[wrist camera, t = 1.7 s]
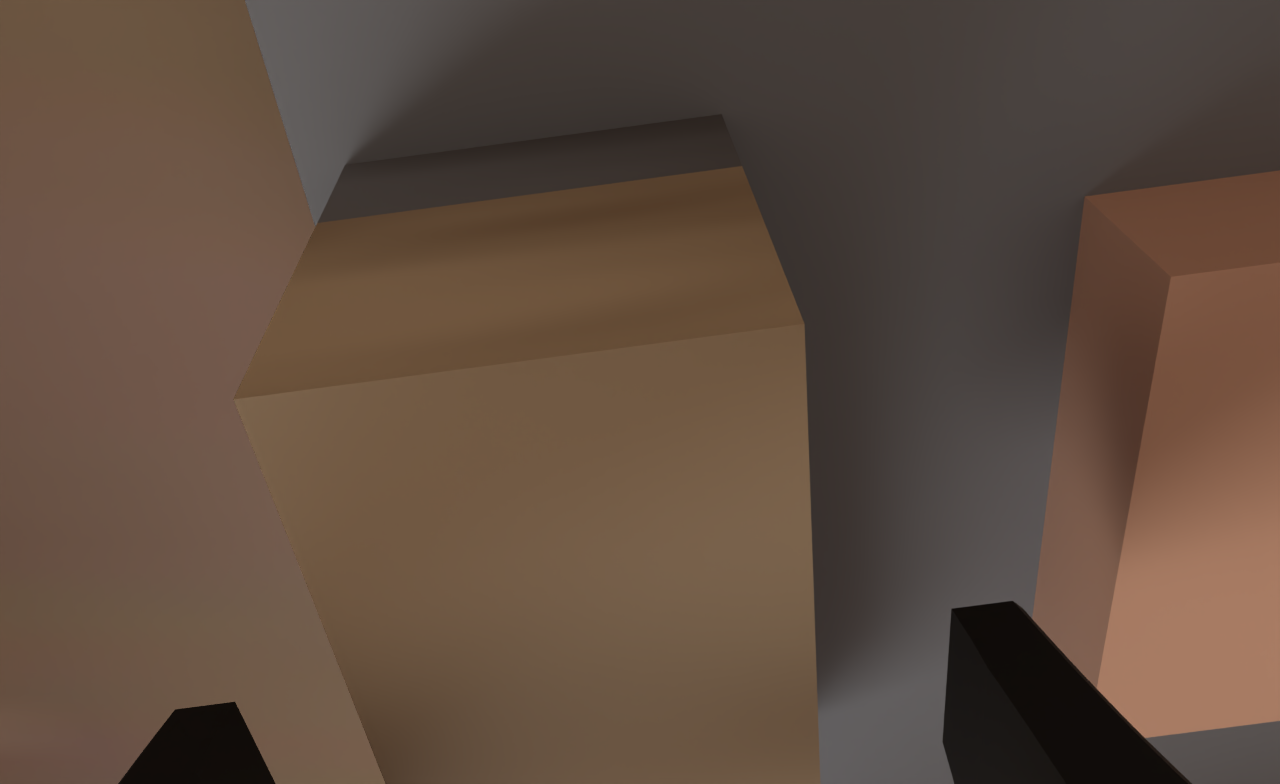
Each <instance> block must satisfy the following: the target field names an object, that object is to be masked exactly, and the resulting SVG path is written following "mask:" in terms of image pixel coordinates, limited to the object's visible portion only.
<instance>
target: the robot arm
mask: <svg viewBox="0 0 1280 784" xmlns="http://www.w3.org/2000/svg"><path fill="white" fill-rule="evenodd" d="M942 742H943V746H944V749H945V753H946V756H947V760H948V763H949V767H950V770H951V774H952V777H953V781H954V784H1192V783H1191V782H1190V781H1189V780H1188V779H1187V778H1186V777H1185V776H1184V775H1183V774H1181V773H1180V772H1179V771H1178V770H1177V769H1176V768H1175V767H1174V766H1173V765H1172V764H1171V763H1170V762H1169V761H1168V760H1167V759H1166V758H1165V757H1164V756H1163V755H1162V754H1161V753H1160V752H1159V751H1158V750H1157V749H1156V748H1155V747H1154V746H1153V745H1152V744H1151V743H1150V742H1148V741H1147V740H1146V739H1145V738H1144V737H1143V736H1142V735H1141V734H1140V733H1139V732H1138V731H1137V730H1136V729H1135V728H1134V727H1133V726H1132V725H1131V724H1130V723H1129V722H1128V721H1127V719H1126V718H1125V717H1124V716H1123V715H1122V714H1121V713H1120V712H1119V711H1118V710H1117V709H1116V708H1115V707H1114V706H1113V705H1112V704H1111V703H1110V702H1109V701H1108V700H1107V699H1106V698H1105V697H1104V696H1103V695H1102V694H1101V693H1100V692H1099V691H1098V689H1097V688H1096V687H1095V686H1094V685H1093V684H1092V683H1091V682H1090V681H1089V680H1088V679H1087V678H1086V677H1085V676H1084V675H1083V674H1082V673H1081V672H1080V671H1079V669H1078V668H1077V667H1076V666H1075V665H1074V664H1073V663H1072V662H1071V661H1070V660H1069V659H1068V658H1067V657H1066V655H1065V654H1064V653H1063V652H1062V651H1061V650H1060V649H1059V648H1058V647H1057V646H1056V645H1055V643H1054V642H1053V641H1052V640H1051V639H1050V638H1049V637H1048V636H1047V635H1046V634H1045V632H1044V631H1043V630H1042V629H1041V628H1040V627H1039V626H1038V625H1037V624H1036V622H1035V621H1034V620H1033V619H1032V618H1031V617H1030V616H1029V615H1028V614H1027V612H1026V611H1025V610H1024V609H1023V608H1022V607H1021V606H1019V605H1018V604H1017V603H1015V602H1014V601H1006V602H999V603H991V604H983V605H976V606H968V607H960V608H953V609H951V623H950V637H949V652H948V667H947V682H946V696H945V711H944V726H943V741H942ZM119 784H275V782H274V780H273V778H272V776H271V774H270V772H269V770H268V768H267V766H266V764H265V762H264V760H263V758H262V756H261V754H260V752H259V750H258V748H257V746H256V743H255V741H254V739H253V737H252V735H251V733H250V731H249V729H248V727H247V725H246V723H245V721H244V719H243V717H242V715H241V713H240V711H239V709H238V707H237V705H236V703H235V702H230V703H222V704H215V705H207V706H199V707H192V708H184V709H176V710H174V712H173V713H172V714H171V716H170V717H169V718H168V719H167V721H166V722H165V723H164V725H163V726H162V727H161V728H160V730H159V731H158V732H157V733H156V735H155V736H154V737H153V739H152V740H151V741H150V742H149V744H148V745H147V746H146V748H145V749H144V750H143V752H142V753H141V754H140V756H139V757H138V758H137V760H136V761H135V762H134V764H133V765H132V766H131V768H130V769H129V770H128V772H127V773H126V774H125V776H124V777H123V778H122V780H121V781H120V782H119Z"/></svg>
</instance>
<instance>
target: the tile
mask: <svg viewBox="0 0 1280 784" xmlns="http://www.w3.org/2000/svg"><path fill="white" fill-rule="evenodd" d="M1032 619H1033V620H1034V621H1035V622H1036V624H1037V625H1038V626H1039V627H1040V628H1041V629H1042V630H1043V631H1044V632H1045V634H1046V635H1047V636H1048V637H1049V638H1050V639H1051V640H1052V641H1053V642H1054V643H1055V645H1056V646H1057V647H1058V648H1059V649H1060V650H1061V651H1062V652H1063V653H1064V654H1065V655H1066V657H1067V658H1068V659H1069V660H1070V661H1071V662H1072V663H1073V664H1074V665H1075V666H1076V667H1077V668H1078V669H1079V671H1080V672H1081V673H1082V674H1083V675H1084V676H1085V677H1086V678H1087V679H1088V680H1089V681H1090V682H1091V683H1092V684H1093V685H1094V686H1095V687H1096V688H1097V689H1098V691H1099V692H1100V693H1101V694H1102V695H1103V696H1104V697H1105V698H1106V699H1107V700H1108V701H1109V702H1110V703H1111V704H1112V705H1113V706H1114V707H1115V708H1116V709H1117V710H1118V711H1119V712H1120V713H1121V714H1122V715H1123V716H1124V717H1125V718H1126V719H1127V721H1128V722H1129V723H1130V724H1131V725H1132V726H1133V727H1134V728H1135V729H1136V730H1137V731H1138V732H1139V733H1140V734H1141V735H1142V736H1143V737H1144V738H1149V737H1157V736H1165V735H1172V734H1180V733H1188V732H1196V731H1204V730H1212V729H1219V728H1227V727H1235V726H1243V725H1251V724H1259V723H1266V722H1274V721H1280V170H1279V171H1272V172H1264V173H1257V174H1249V175H1242V176H1234V177H1227V178H1219V179H1212V180H1204V181H1197V182H1189V183H1182V184H1174V185H1167V186H1159V187H1152V188H1144V189H1137V190H1129V191H1122V192H1114V193H1107V194H1100V195H1092V196H1085V198H1084V206H1083V214H1082V222H1081V230H1080V238H1079V246H1078V254H1077V262H1076V270H1075V278H1074V286H1073V294H1072V302H1071V310H1070V318H1069V326H1068V334H1067V343H1066V351H1065V359H1064V367H1063V375H1062V383H1061V391H1060V399H1059V407H1058V415H1057V423H1056V431H1055V439H1054V447H1053V455H1052V463H1051V471H1050V479H1049V487H1048V495H1047V504H1046V512H1045V520H1044V528H1043V536H1042V544H1041V552H1040V560H1039V568H1038V576H1037V584H1036V592H1035V600H1034V608H1033V616H1032Z"/></svg>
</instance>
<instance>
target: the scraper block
mask: <svg viewBox="0 0 1280 784" xmlns="http://www.w3.org/2000/svg"><path fill="white" fill-rule="evenodd" d="M233 400H234V402H235V405H236V407H237V410H238V412H239V415H240V417H241V420H242V422H243V425H244V428H245V430H246V433H247V435H248V438H249V440H250V443H251V445H252V448H253V450H254V453H255V455H256V458H257V460H258V463H259V465H260V468H261V470H262V473H263V475H264V478H265V481H266V483H267V486H268V488H269V491H270V493H271V496H272V498H273V501H274V503H275V506H276V508H277V511H278V513H279V516H280V518H281V521H282V523H283V526H284V528H285V531H286V534H287V536H288V539H289V541H290V544H291V546H292V549H293V551H294V554H295V556H296V559H297V561H298V564H299V566H300V569H301V571H302V574H303V576H304V579H305V581H306V584H307V587H308V589H309V592H310V594H311V597H312V599H313V602H314V604H315V607H316V609H317V612H318V614H319V617H320V619H321V622H322V624H323V627H324V629H325V632H326V634H327V637H328V640H329V642H330V645H331V647H332V650H333V652H334V655H335V657H336V660H337V662H338V665H339V667H340V670H341V672H342V675H343V677H344V680H345V682H346V685H347V687H348V690H349V693H350V695H351V698H352V700H353V703H354V705H355V708H356V710H357V713H358V715H359V718H360V720H361V723H362V725H363V728H364V730H365V733H366V735H367V738H368V740H369V743H370V746H371V748H372V751H373V753H374V756H375V758H376V761H377V763H378V766H379V768H380V771H381V773H382V776H383V778H384V781H385V783H386V784H820V757H819V728H818V699H817V670H816V642H815V613H814V584H813V555H812V527H811V498H810V469H809V440H808V412H807V383H806V354H805V325H804V321H803V319H802V316H801V314H800V311H799V309H798V306H797V304H796V301H795V299H794V296H793V294H792V291H791V288H790V286H789V283H788V281H787V278H786V276H785V273H784V271H783V268H782V266H781V263H780V261H779V258H778V256H777V253H776V251H775V248H774V245H773V243H772V240H771V238H770V235H769V233H768V230H767V228H766V225H765V223H764V220H763V218H762V215H761V213H760V210H759V208H758V205H757V202H756V200H755V197H754V195H753V192H752V190H751V187H750V185H749V182H748V180H747V177H746V175H745V172H744V170H743V167H742V164H741V162H740V159H739V157H738V154H737V152H736V149H735V147H734V144H733V142H732V139H731V137H730V134H729V132H728V129H727V127H726V124H725V121H724V119H723V116H722V114H719V115H711V116H704V117H696V118H689V119H682V120H674V121H667V122H659V123H652V124H644V125H637V126H630V127H622V128H615V129H607V130H600V131H593V132H585V133H578V134H570V135H563V136H555V137H548V138H541V139H533V140H526V141H518V142H511V143H504V144H496V145H489V146H481V147H474V148H467V149H459V150H452V151H444V152H437V153H429V154H422V155H415V156H407V157H400V158H392V159H385V160H378V161H370V162H363V163H355V164H348V165H345V166H344V168H343V170H342V172H341V174H340V176H339V178H338V181H337V183H336V185H335V187H334V189H333V191H332V193H331V195H330V197H329V200H328V202H327V204H326V206H325V208H324V210H323V212H322V214H321V216H320V218H319V221H318V223H317V225H316V227H315V229H314V231H313V233H312V235H311V237H310V239H309V242H308V244H307V246H306V248H305V250H304V252H303V254H302V256H301V258H300V260H299V263H298V265H297V267H296V269H295V271H294V273H293V275H292V277H291V279H290V281H289V284H288V286H287V288H286V290H285V292H284V294H283V296H282V298H281V300H280V302H279V305H278V307H277V309H276V311H275V313H274V315H273V317H272V319H271V321H270V324H269V326H268V328H267V330H266V332H265V334H264V336H263V338H262V340H261V342H260V345H259V347H258V349H257V351H256V353H255V355H254V357H253V359H252V361H251V363H250V366H249V368H248V370H247V372H246V374H245V376H244V378H243V380H242V382H241V384H240V387H239V389H238V391H237V393H236V395H235V397H234V399H233Z"/></svg>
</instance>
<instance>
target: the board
mask: <svg viewBox="0 0 1280 784" xmlns="http://www.w3.org/2000/svg"><path fill="white" fill-rule="evenodd" d="M245 2H246V5H247V8H248V12H249V15H250V18H251V21H252V24H253V28H254V31H255V34H256V37H257V41H258V44H259V47H260V50H261V53H262V57H263V60H264V63H265V66H266V70H267V73H268V76H269V79H270V82H271V86H272V89H273V92H274V95H275V98H276V102H277V105H278V108H279V111H280V115H281V118H282V121H283V124H284V127H285V131H286V134H287V137H288V140H289V144H290V147H291V150H292V153H293V156H294V160H295V163H296V166H297V169H298V172H299V176H300V179H301V182H302V185H303V189H304V192H305V195H306V198H307V201H308V205H309V208H310V211H311V214H312V218H313V221H314V224H315V227H316V225H317V223H318V221H319V218H320V216H321V214H322V212H323V210H324V208H325V206H326V204H327V202H328V200H329V197H330V195H331V193H332V191H333V189H334V187H335V185H336V183H337V181H338V178H339V176H340V174H341V172H342V170H343V168H344V166H345V165H348V164H355V163H363V162H370V161H378V160H385V159H392V158H400V157H407V156H415V155H422V154H429V153H437V152H444V151H452V150H459V149H467V148H474V147H481V146H489V145H496V144H504V143H511V142H518V141H526V140H533V139H541V138H548V137H555V136H563V135H570V134H578V133H585V132H593V131H600V130H607V129H615V128H622V127H630V126H637V125H644V124H652V123H659V122H667V121H674V120H682V119H689V118H696V117H704V116H711V115H719V114H722V116H723V119H724V121H725V124H726V127H727V129H728V132H729V134H730V137H731V139H732V142H733V144H734V147H735V149H736V152H737V154H738V157H739V159H740V162H741V164H742V167H743V170H744V172H745V175H746V177H747V180H748V182H749V185H750V187H751V190H752V192H753V195H754V197H755V200H756V202H757V205H758V208H759V210H760V213H761V215H762V218H763V220H764V223H765V225H766V228H767V230H768V233H769V235H770V238H771V240H772V243H773V245H774V248H775V251H776V253H777V256H778V258H779V261H780V263H781V266H782V268H783V271H784V273H785V276H786V278H787V281H788V283H789V286H790V288H791V291H792V294H793V296H794V299H795V301H796V304H797V306H798V309H799V311H800V314H801V316H802V319H803V321H804V325H805V354H806V383H807V412H808V440H809V469H810V498H811V527H812V555H813V584H814V613H815V642H816V670H817V699H818V728H819V757H820V784H954V781H953V777H952V774H951V770H950V767H949V763H948V760H947V756H946V753H945V749H944V746H943V742H942V741H943V726H944V711H945V696H946V682H947V667H948V652H949V637H950V623H951V609H953V608H960V607H968V606H976V605H983V604H991V603H999V602H1006V601H1014V602H1015V603H1017V604H1018V605H1019V606H1021V607H1022V608H1023V609H1024V610H1025V611H1026V612H1027V614H1028V615H1029V616H1030V617H1031V618H1032V616H1033V608H1034V600H1035V592H1036V584H1037V576H1038V568H1039V560H1040V552H1041V544H1042V536H1043V528H1044V520H1045V512H1046V504H1047V495H1048V487H1049V479H1050V471H1051V463H1052V455H1053V447H1054V439H1055V431H1056V423H1057V415H1058V407H1059V399H1060V391H1061V383H1062V375H1063V367H1064V359H1065V351H1066V343H1067V334H1068V326H1069V318H1070V310H1071V302H1072V294H1073V286H1074V278H1075V270H1076V262H1077V254H1078V246H1079V238H1080V230H1081V222H1082V214H1083V206H1084V198H1085V196H1092V195H1100V194H1107V193H1114V192H1122V191H1129V190H1137V189H1144V188H1152V187H1159V186H1167V185H1174V184H1182V183H1189V182H1197V181H1204V180H1212V179H1219V178H1227V177H1234V176H1242V175H1249V174H1257V173H1264V172H1272V171H1279V170H1280V0H245ZM1145 739H1146V740H1147V741H1148V742H1150V743H1151V744H1152V745H1153V746H1154V747H1155V748H1156V749H1157V750H1158V751H1159V752H1160V753H1161V754H1162V755H1163V756H1164V757H1165V758H1166V759H1167V760H1168V761H1169V762H1170V763H1171V764H1172V765H1173V766H1174V767H1175V768H1176V769H1177V770H1178V771H1179V772H1180V773H1181V774H1183V775H1184V776H1185V777H1186V778H1187V779H1188V780H1189V781H1190V782H1191V783H1192V784H1280V721H1274V722H1266V723H1259V724H1251V725H1243V726H1235V727H1227V728H1219V729H1212V730H1204V731H1196V732H1188V733H1180V734H1172V735H1165V736H1157V737H1149V738H1145Z"/></svg>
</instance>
